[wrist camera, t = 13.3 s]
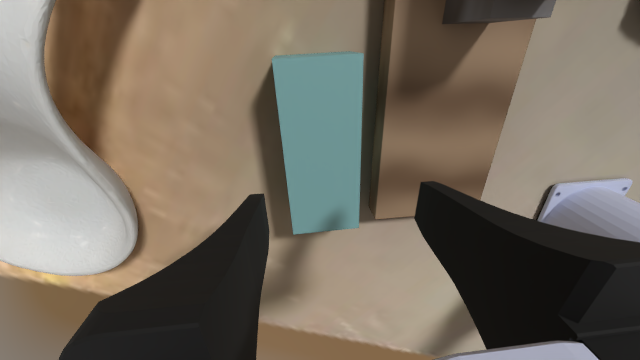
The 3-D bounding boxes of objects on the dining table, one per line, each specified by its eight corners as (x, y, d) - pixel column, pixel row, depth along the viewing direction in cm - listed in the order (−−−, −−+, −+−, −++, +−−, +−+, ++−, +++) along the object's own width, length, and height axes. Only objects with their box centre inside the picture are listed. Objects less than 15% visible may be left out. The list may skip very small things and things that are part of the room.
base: (463, 198, 24) (513, 243, 19) (368, 206, 24) (392, 255, 18) (531, -53, 16) (658, -102, 10) (388, -53, 15) (443, -106, 10)
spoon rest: (144, 261, 24) (93, 338, 18) (-16, 223, 21) (-148, 301, 15) (220, -20, 15) (172, -64, 9) (-37, -166, 12) (-400, -399, 6)
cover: (348, 199, 23) (358, 227, 20) (292, 205, 23) (293, 234, 20) (348, 51, 18) (363, 53, 14) (275, 55, 18) (271, 58, 14)
